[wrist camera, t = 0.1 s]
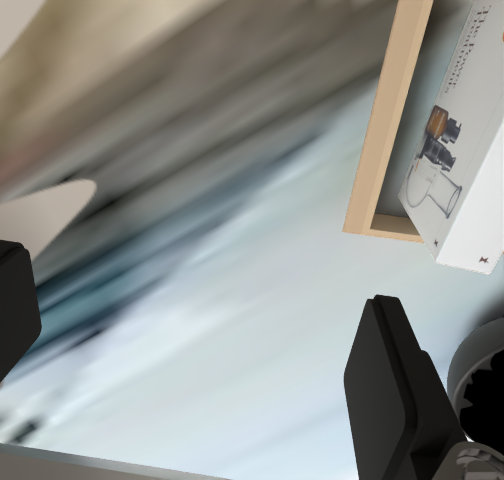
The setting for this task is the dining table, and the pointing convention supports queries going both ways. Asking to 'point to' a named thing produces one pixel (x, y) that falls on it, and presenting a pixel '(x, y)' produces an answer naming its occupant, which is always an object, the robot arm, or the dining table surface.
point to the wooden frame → (388, 126)
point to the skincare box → (464, 152)
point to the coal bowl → (480, 385)
